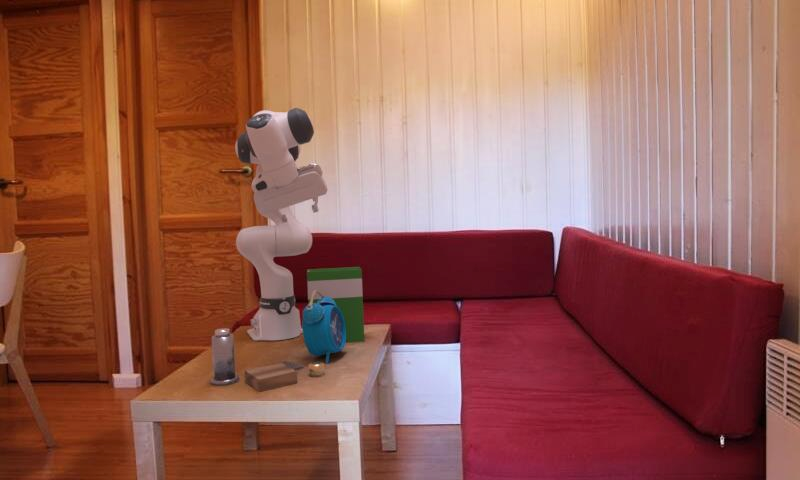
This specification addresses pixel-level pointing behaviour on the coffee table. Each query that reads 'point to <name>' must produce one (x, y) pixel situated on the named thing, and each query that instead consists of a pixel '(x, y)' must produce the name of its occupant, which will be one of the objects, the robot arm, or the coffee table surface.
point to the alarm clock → (323, 327)
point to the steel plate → (293, 365)
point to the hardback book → (341, 296)
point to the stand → (270, 376)
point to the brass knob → (316, 369)
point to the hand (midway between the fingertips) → (300, 216)
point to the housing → (223, 358)
